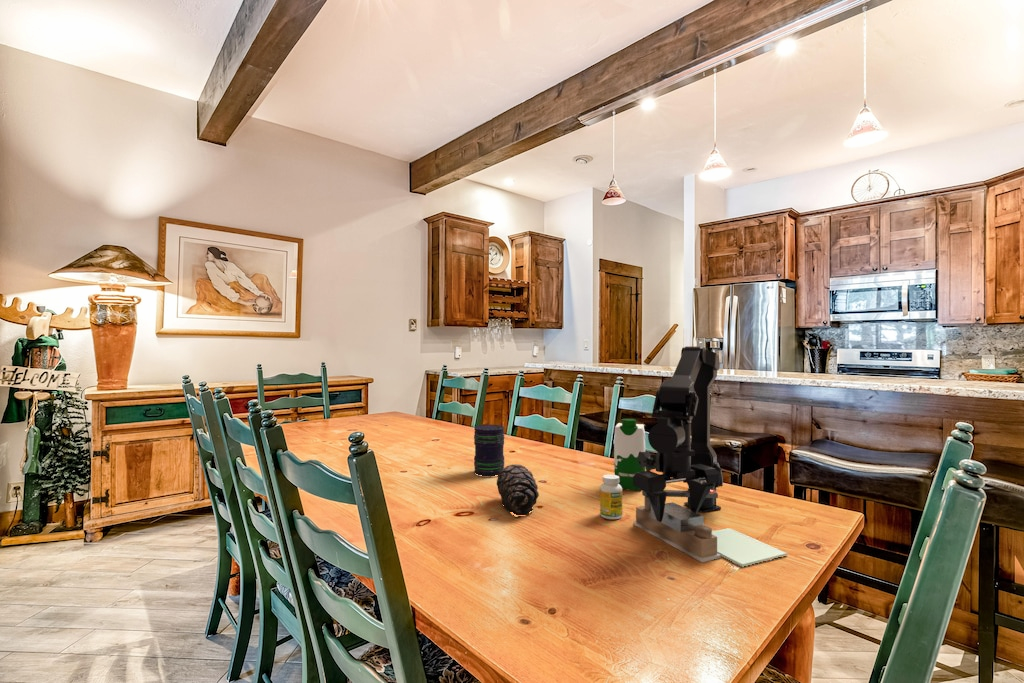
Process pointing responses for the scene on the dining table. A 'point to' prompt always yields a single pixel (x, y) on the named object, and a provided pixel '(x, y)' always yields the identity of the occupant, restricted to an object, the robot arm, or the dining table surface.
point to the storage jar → (489, 449)
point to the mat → (743, 548)
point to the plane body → (679, 535)
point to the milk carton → (628, 451)
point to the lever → (685, 493)
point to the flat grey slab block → (680, 517)
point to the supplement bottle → (611, 497)
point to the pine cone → (517, 489)
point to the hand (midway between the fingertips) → (676, 518)
